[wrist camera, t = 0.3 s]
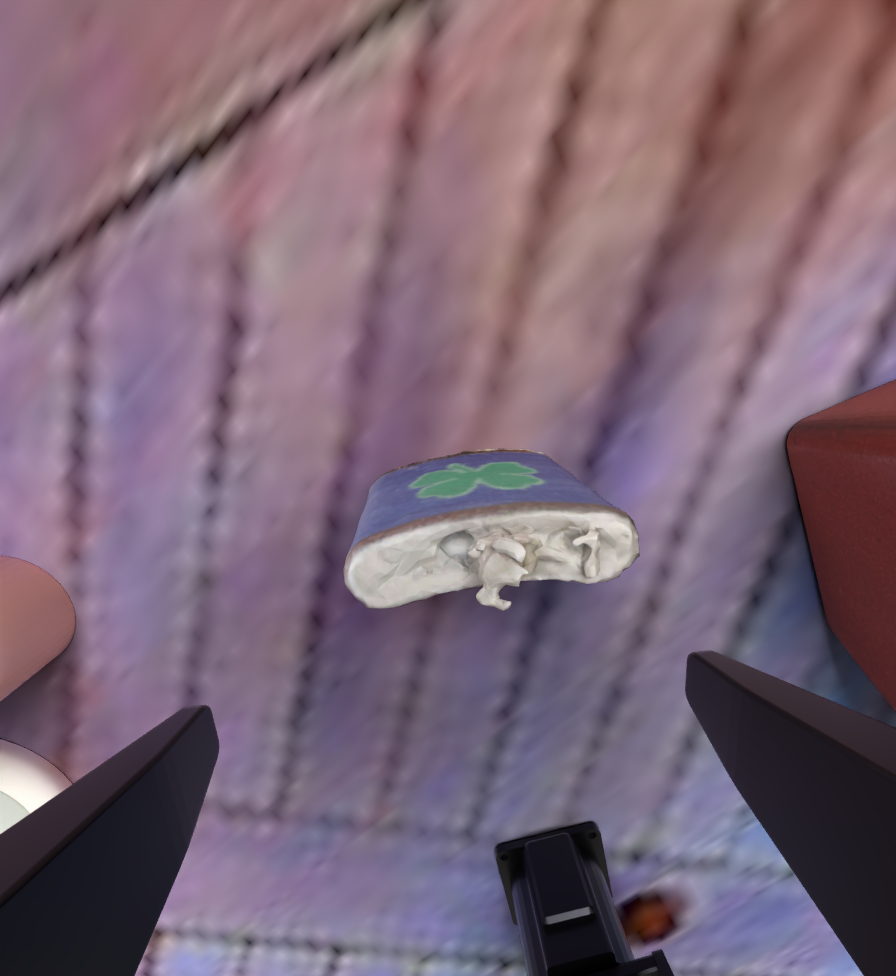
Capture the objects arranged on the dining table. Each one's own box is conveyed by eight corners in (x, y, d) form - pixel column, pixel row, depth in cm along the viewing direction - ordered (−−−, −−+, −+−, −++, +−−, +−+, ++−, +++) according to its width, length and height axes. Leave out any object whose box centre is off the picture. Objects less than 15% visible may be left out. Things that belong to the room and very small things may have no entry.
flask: (373, 522, 22) (338, 655, 12) (364, 463, 21) (317, 550, 11) (559, 498, 23) (682, 606, 12) (556, 439, 22) (684, 502, 11)
